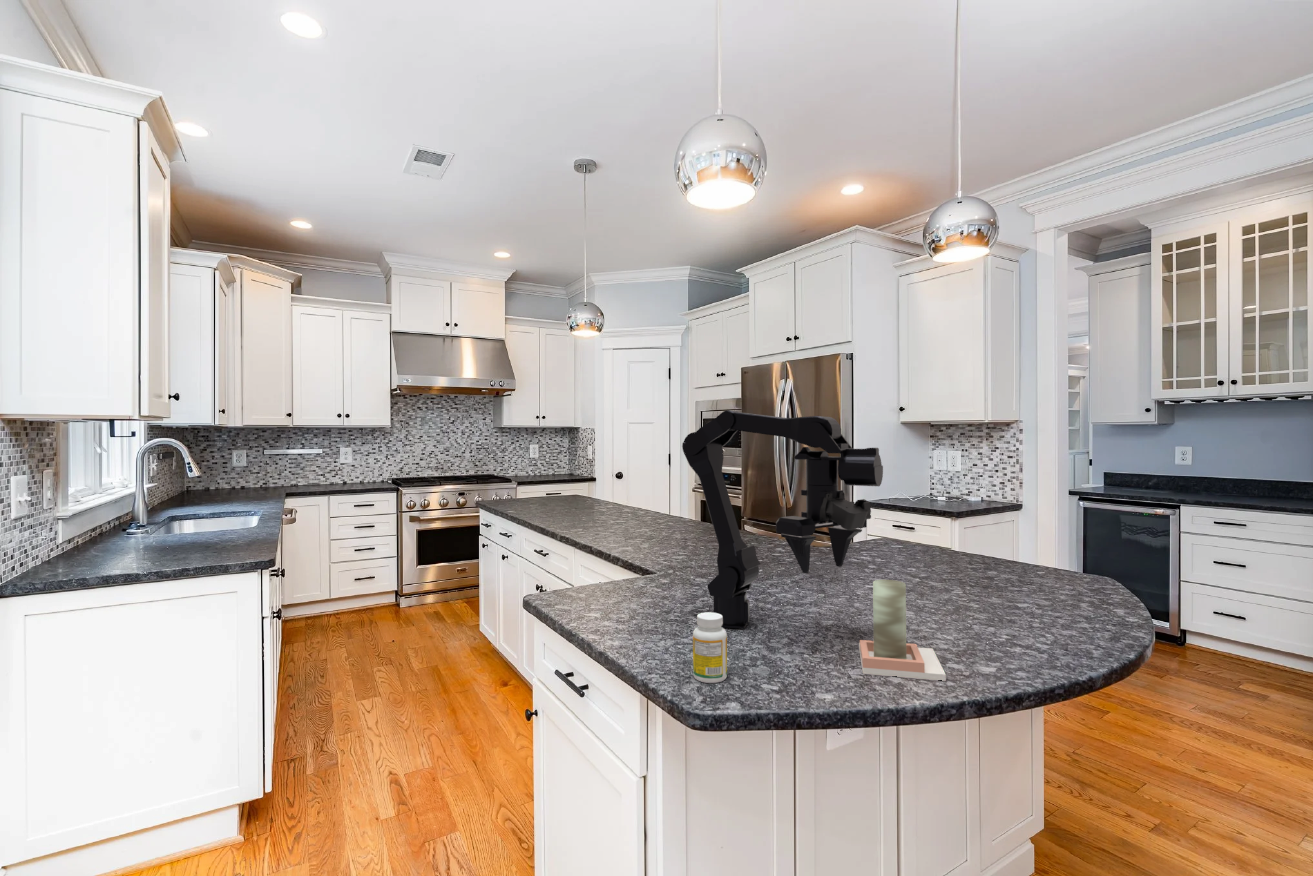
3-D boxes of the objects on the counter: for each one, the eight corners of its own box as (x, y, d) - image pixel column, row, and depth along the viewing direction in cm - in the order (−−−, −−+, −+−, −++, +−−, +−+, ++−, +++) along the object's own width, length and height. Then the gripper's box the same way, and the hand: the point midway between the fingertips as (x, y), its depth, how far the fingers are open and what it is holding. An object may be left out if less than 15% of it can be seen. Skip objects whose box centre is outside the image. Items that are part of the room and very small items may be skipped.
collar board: (862, 673, 97) (862, 658, 97) (858, 648, 109) (858, 634, 109) (945, 681, 94) (945, 664, 94) (932, 654, 106) (932, 639, 106)
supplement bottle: (714, 686, 93) (713, 623, 93) (685, 678, 96) (685, 616, 96) (734, 676, 97) (733, 614, 97) (706, 668, 101) (705, 609, 101)
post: (874, 664, 99) (874, 585, 99) (872, 653, 104) (871, 578, 104) (908, 666, 98) (907, 587, 98) (904, 656, 102) (903, 580, 102)
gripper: (822, 490, 101) (823, 585, 101) (891, 484, 112) (892, 570, 112) (773, 486, 111) (774, 573, 111) (841, 481, 121) (842, 560, 121)
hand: (822, 569), depth 113 cm, fingers open, 9 cm apart
